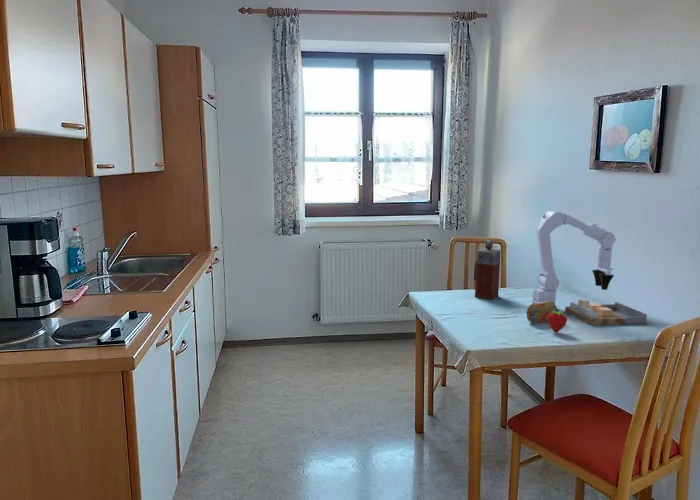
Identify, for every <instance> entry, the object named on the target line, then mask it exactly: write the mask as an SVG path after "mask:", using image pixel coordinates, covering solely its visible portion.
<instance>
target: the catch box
mask: <svg viewBox="0 0 700 500" xmlns="http://www.w3.org/2000/svg"><path fill="white" fill-rule="evenodd" d="M601 305H602V307H607V308H609V309H611V310H612V313H613V314H615V315H618V316H620V317H622V318H624V325H647V316H648V314H646V313H644V312H642V311H639V310H637V309H634V308H632V307H630V306H627V305H625V304H622V303H619V302H618V301H616V302H615V301H614V303H613V304H610V303H609V304H604V303H603V304H601Z"/></svg>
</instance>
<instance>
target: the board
mask: <svg viewBox="0 0 700 500" xmlns="http://www.w3.org/2000/svg"><path fill="white" fill-rule="evenodd" d="M595 312H596V311H595ZM564 313H566V314H567V315H569V316H571V317H573V318H576V319H577V320H579V321H582V322H583V323H585V324H587V325H589V326H591V325H593V326H615V325H616V326H621V325H622V326H623V325H625V324H624V318H622V317H620V316H618V315H615V314H613V313H612V316H600V315H598V314H597V318H590V317H588V316H586V315H584V314H582V313H580V312H578V311H576V310H574V309H572V308H570V306H565V307H564Z"/></svg>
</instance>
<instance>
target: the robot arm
mask: <svg viewBox="0 0 700 500" xmlns="http://www.w3.org/2000/svg"><path fill="white" fill-rule="evenodd" d="M563 225H565V226H566V225H570V226H572V227H573V228H577V229H579V230H580V231H582V234H583V235H585V236H587V237H588V238H591V239H593V240H595V241H597V243H598V245H597V256H596V264H595V266H594V269H592V270H591V271H592V274H593V278H594V283H595V286H596V287H601V291H603V290H604V291H607V290H608V288H609V285H610V283H611V281H612V279H613V278H614V274H612V270H614V268H613V267H611V264H612V253H613V245H614V244H615V242H616V240H617V239H616V236H615V235H614V233H613V232H611V231H607V229H606V228H604V227H600V226H597V224H596V223H594V222H593V223H591V222H589V223H585V222H582V221H581V220H579V219H577V218H576V217H573V216H571V215H569V214H566V213H562V212H561V211H555V210H551V209H550V210H547V211H546V212H544V213H543V215H541V220H540V222H539V224H538V226H537V229H536V233H537V242H538V253H539V259H540V260H539V261H540V269H539V276H538V278H537V280H538V281H537V282H538V283H539V288H537V289H534V290H533V292H532V303H531V304H533V303H540V302H545V301H548V302H553V303H554V304H555V305H556V300H557V299H556V298H557V289H558V288H559V285H560V281H559V279H558V277H557V274H556V271H555V269H554V260H553V251H552V243H551V233H552V232H553V231H554V230H556V229H558V228H559V227H561V226H563ZM556 308H557V311H560V308H559V307H556Z"/></svg>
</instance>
